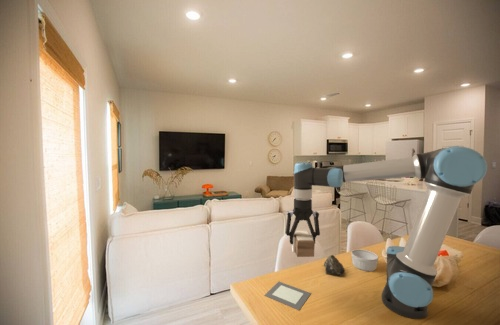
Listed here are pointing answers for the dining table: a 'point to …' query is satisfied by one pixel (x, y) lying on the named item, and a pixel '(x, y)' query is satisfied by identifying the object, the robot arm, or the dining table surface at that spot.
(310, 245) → the card box
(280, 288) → the mat
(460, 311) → the dining table surface
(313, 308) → the dining table surface
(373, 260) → the ramekin
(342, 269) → the dark grey rock
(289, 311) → the dining table surface
